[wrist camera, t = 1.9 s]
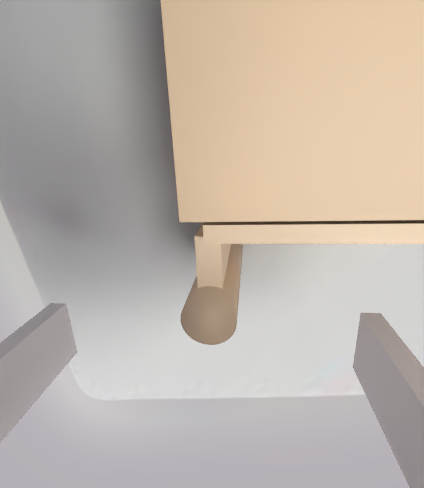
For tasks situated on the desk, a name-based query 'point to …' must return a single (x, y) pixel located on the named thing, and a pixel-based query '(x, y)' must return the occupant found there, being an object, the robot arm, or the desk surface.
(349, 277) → the desk surface
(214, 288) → the flap
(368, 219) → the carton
